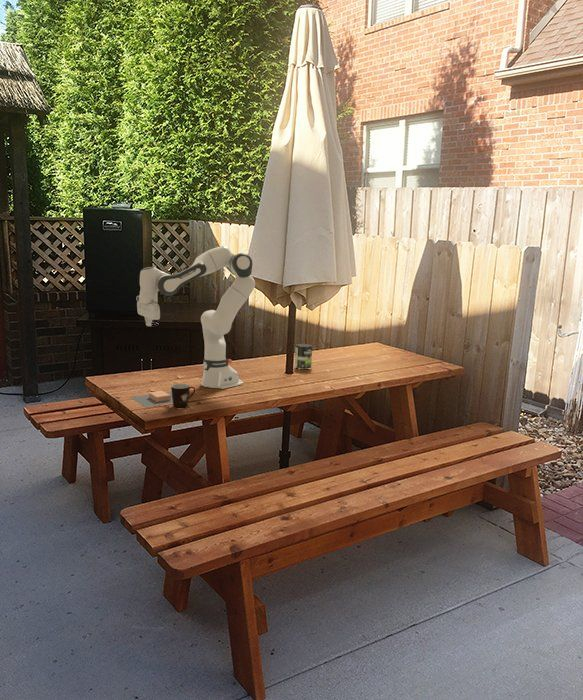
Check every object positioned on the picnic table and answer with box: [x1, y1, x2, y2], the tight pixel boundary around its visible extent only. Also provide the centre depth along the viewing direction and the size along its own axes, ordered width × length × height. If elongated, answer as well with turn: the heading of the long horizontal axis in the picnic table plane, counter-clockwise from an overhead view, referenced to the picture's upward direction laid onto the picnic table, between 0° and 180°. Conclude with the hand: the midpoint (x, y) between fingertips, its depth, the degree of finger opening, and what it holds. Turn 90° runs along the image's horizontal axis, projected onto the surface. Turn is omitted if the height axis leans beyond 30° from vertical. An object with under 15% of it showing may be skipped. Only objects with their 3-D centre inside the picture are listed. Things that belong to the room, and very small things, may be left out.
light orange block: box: [148, 390, 171, 402], centre depth 306 cm, size 7×3×9 cm
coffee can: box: [294, 343, 313, 370], centre depth 382 cm, size 10×10×14 cm
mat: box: [129, 390, 173, 408], centre depth 307 cm, size 22×18×1 cm
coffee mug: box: [170, 383, 196, 409], centre depth 297 cm, size 12×9×10 cm
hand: (148, 325), depth 326 cm, fingers closed
